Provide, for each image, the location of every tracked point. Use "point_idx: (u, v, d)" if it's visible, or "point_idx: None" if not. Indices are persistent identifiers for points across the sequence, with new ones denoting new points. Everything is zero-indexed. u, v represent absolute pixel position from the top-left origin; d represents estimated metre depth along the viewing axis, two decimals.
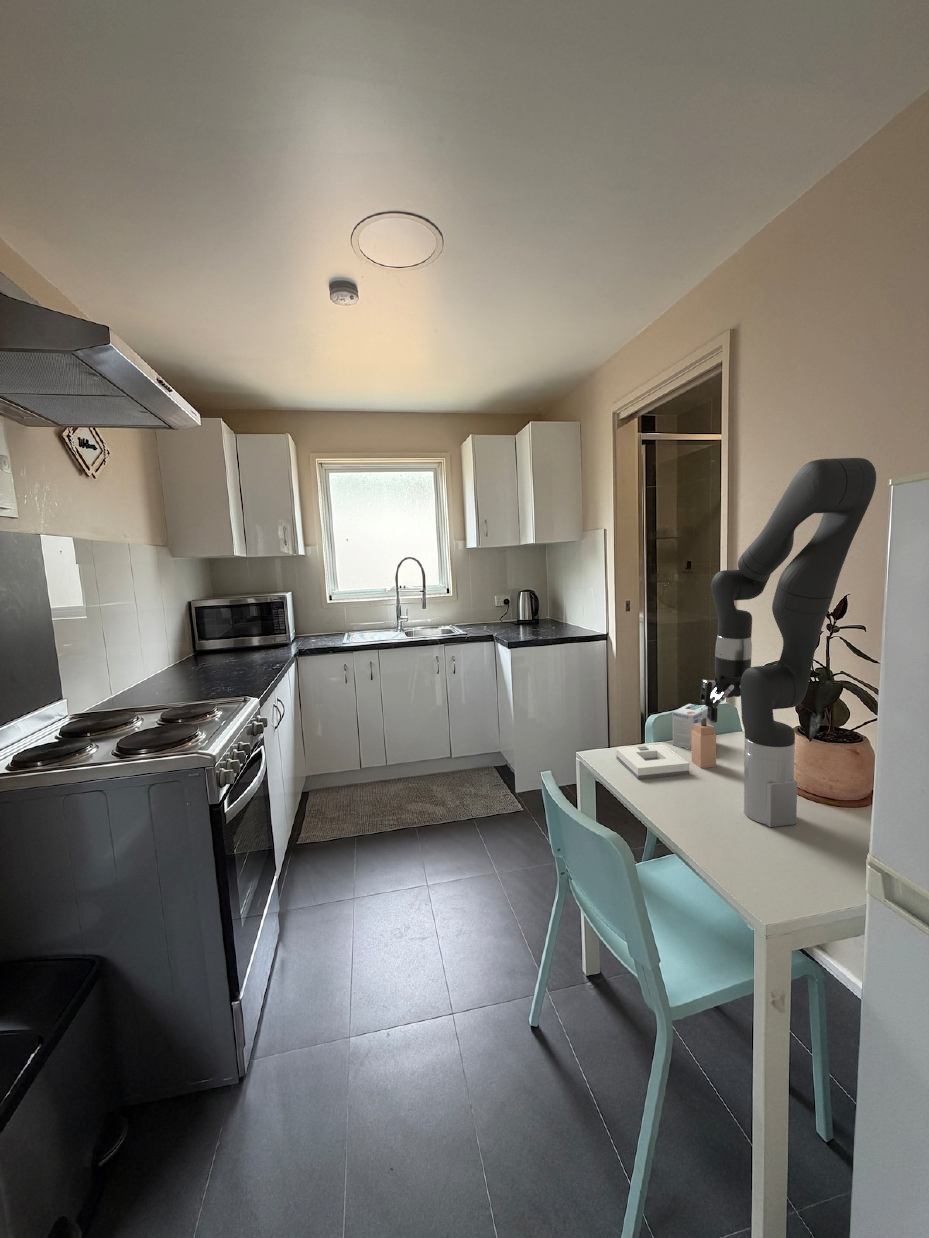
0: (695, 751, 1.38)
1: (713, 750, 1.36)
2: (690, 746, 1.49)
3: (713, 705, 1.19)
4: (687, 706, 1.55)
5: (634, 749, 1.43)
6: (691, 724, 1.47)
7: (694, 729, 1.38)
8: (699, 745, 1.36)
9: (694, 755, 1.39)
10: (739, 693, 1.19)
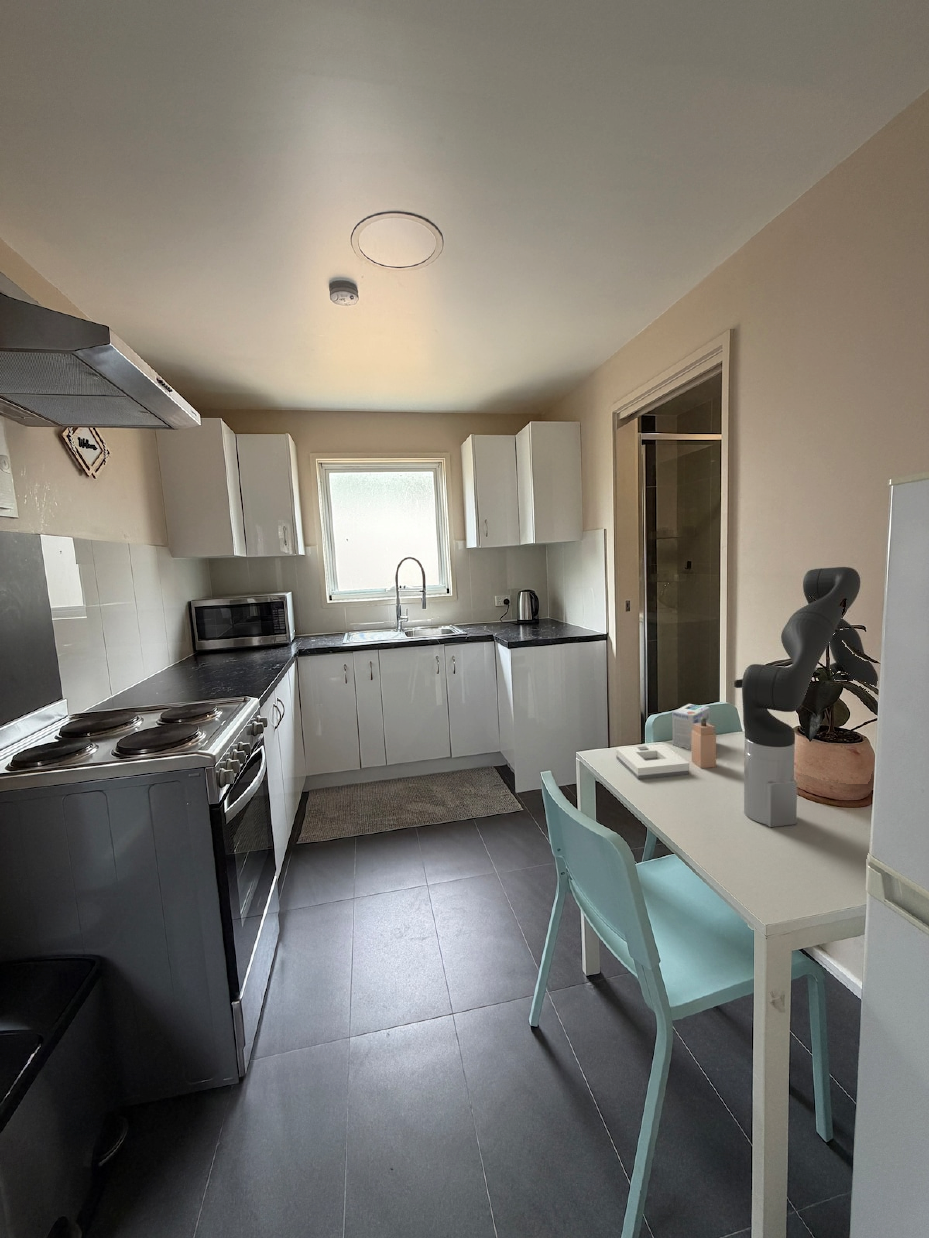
0: (695, 751, 1.38)
1: (713, 750, 1.36)
2: (690, 746, 1.49)
3: None
4: (687, 706, 1.55)
5: (634, 749, 1.43)
6: (691, 724, 1.47)
7: (694, 729, 1.38)
8: (699, 745, 1.36)
9: (694, 755, 1.39)
10: None
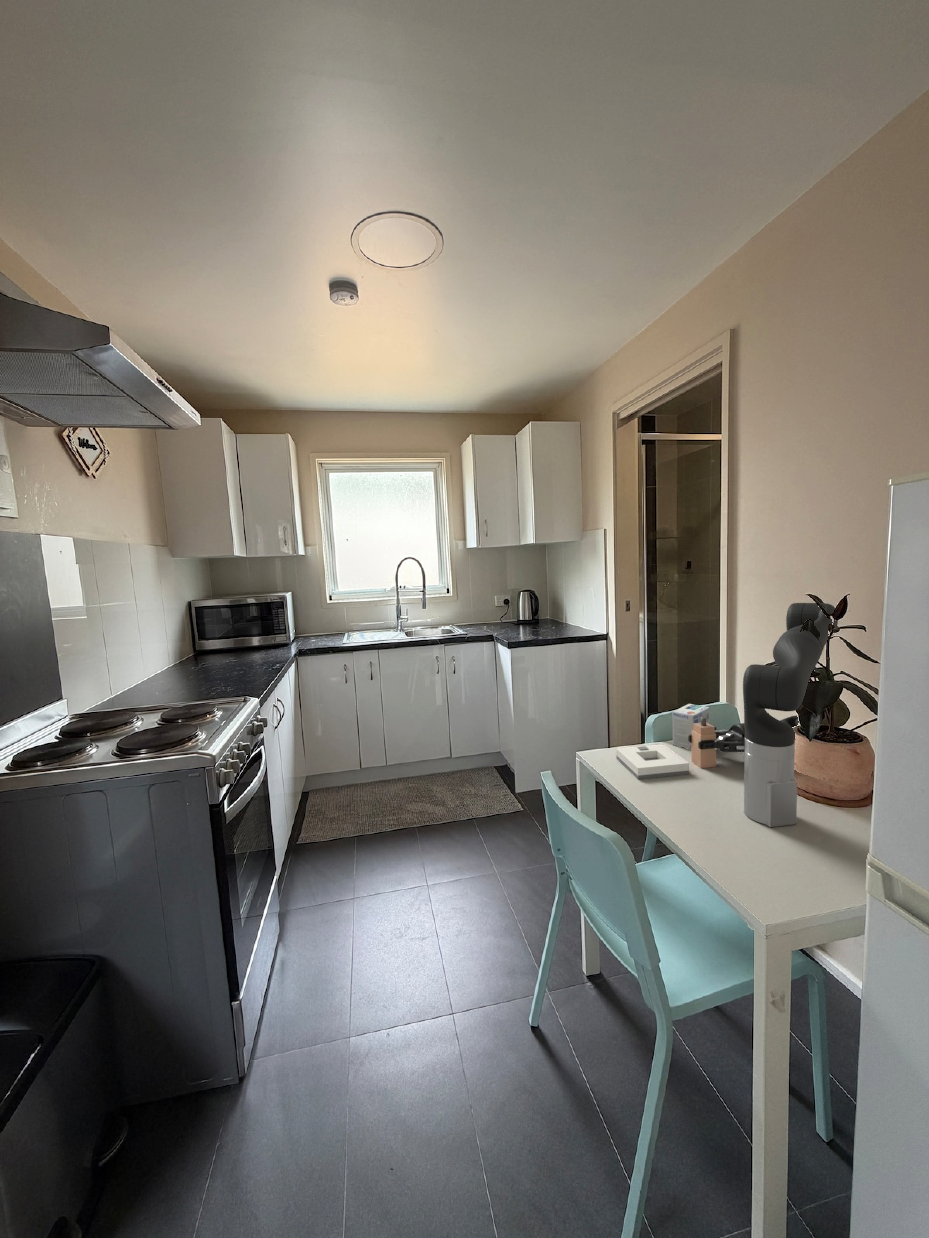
0: (695, 751, 1.38)
1: (713, 750, 1.36)
2: (690, 746, 1.49)
3: None
4: (687, 706, 1.55)
5: (634, 749, 1.43)
6: (691, 724, 1.47)
7: (694, 729, 1.38)
8: None
9: (694, 755, 1.39)
10: None
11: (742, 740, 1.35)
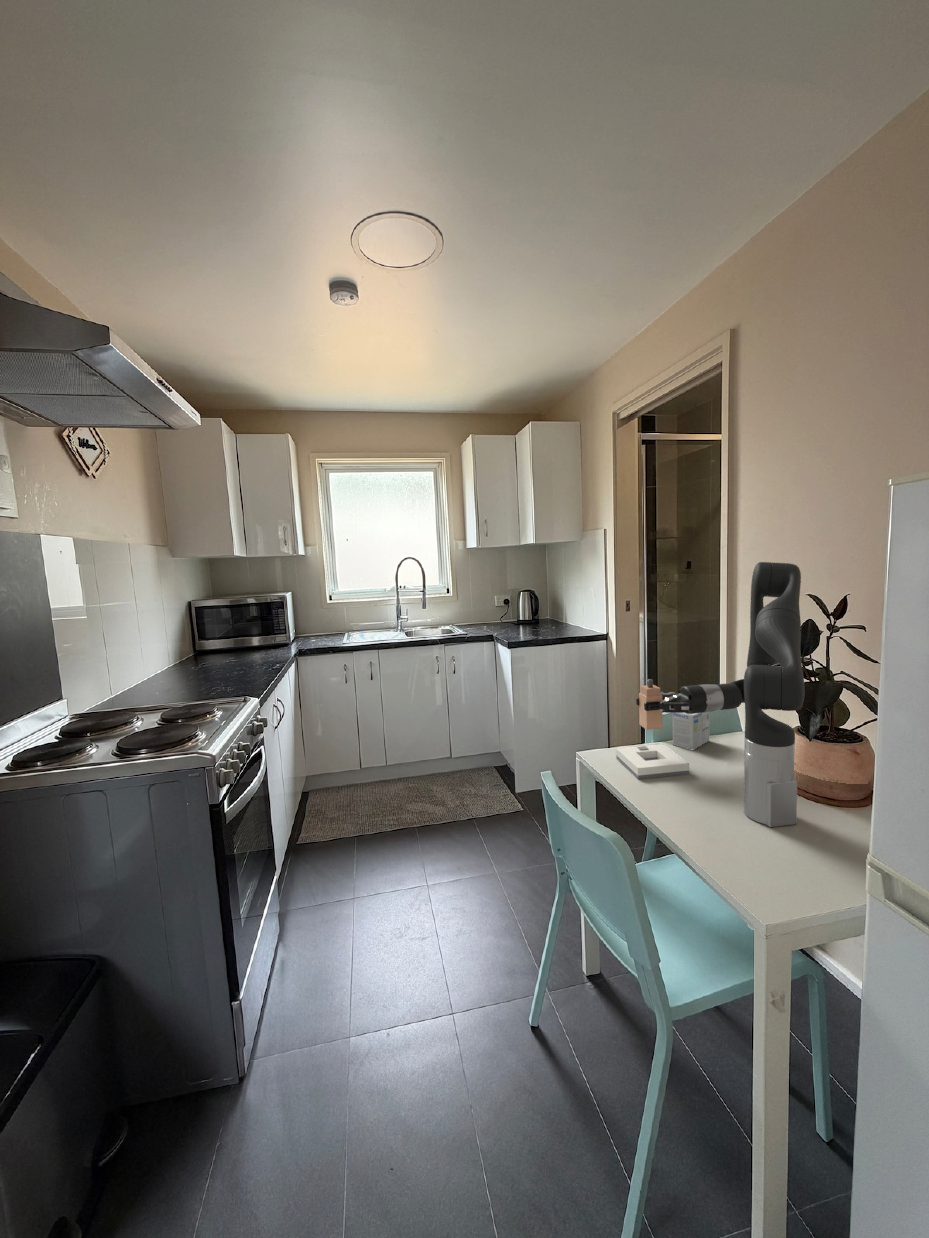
0: (642, 713, 1.37)
1: (659, 712, 1.35)
2: (690, 746, 1.49)
3: None
4: None
5: (634, 749, 1.43)
6: (691, 724, 1.47)
7: (641, 691, 1.38)
8: None
9: (641, 717, 1.38)
10: None
11: (688, 701, 1.34)
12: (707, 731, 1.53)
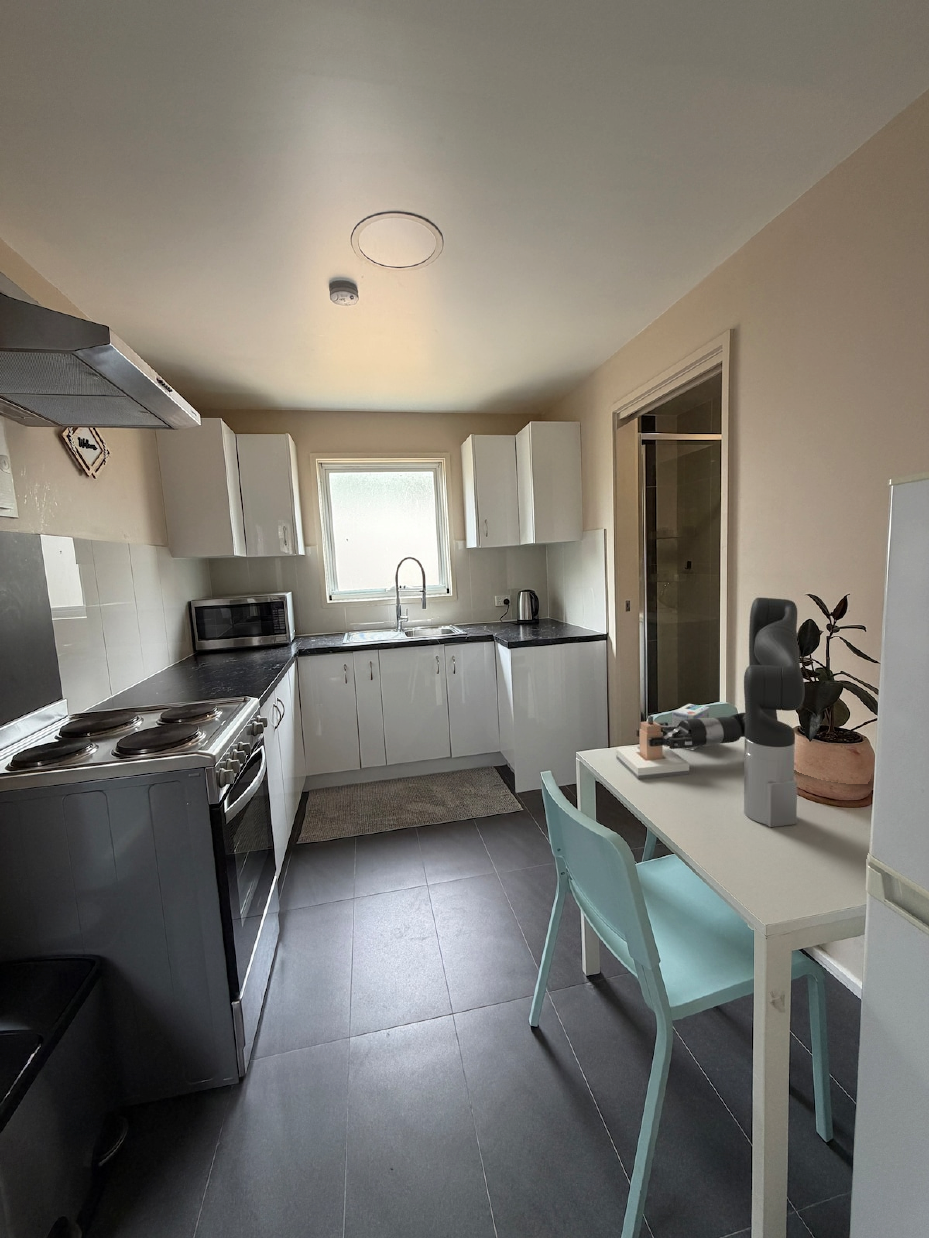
0: (642, 749, 1.39)
1: (659, 748, 1.36)
2: None
3: None
4: (687, 706, 1.55)
5: (634, 749, 1.43)
6: None
7: (641, 727, 1.39)
8: (645, 743, 1.36)
9: (642, 753, 1.39)
10: None
11: (688, 736, 1.35)
12: None
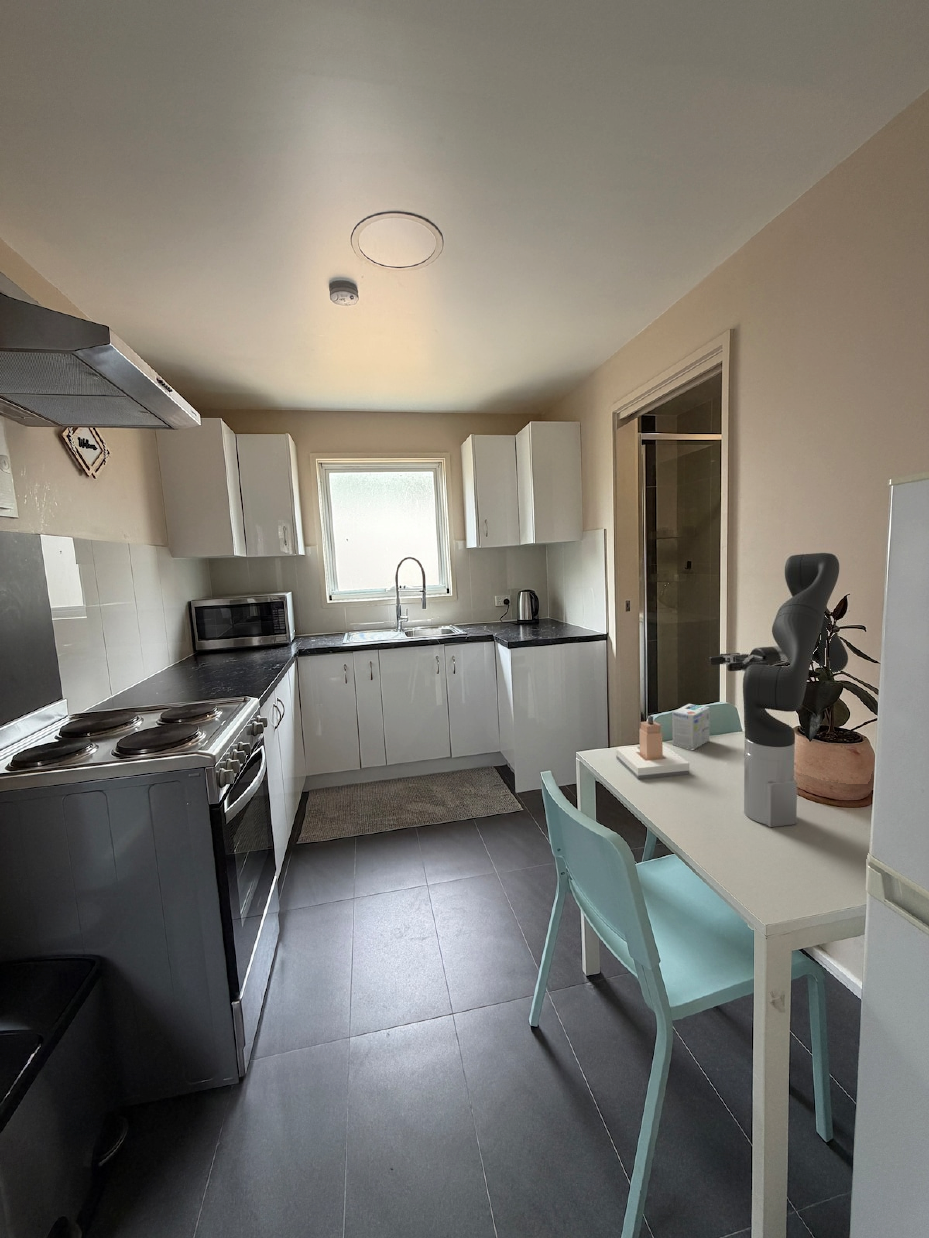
0: (642, 749, 1.39)
1: (659, 748, 1.36)
2: (690, 746, 1.49)
3: None
4: (687, 706, 1.55)
5: (634, 749, 1.43)
6: (691, 724, 1.47)
7: (641, 727, 1.39)
8: (645, 743, 1.36)
9: (642, 753, 1.39)
10: (745, 659, 1.41)
11: (763, 661, 1.39)
12: (707, 731, 1.53)
